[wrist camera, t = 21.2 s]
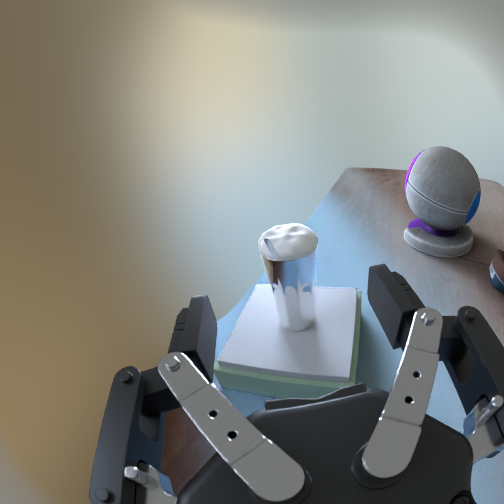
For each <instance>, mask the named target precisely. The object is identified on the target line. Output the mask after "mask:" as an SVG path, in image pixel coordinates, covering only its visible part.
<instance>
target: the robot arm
mask: <svg viewBox="0 0 504 504" xmlns="http://www.w3.org/2000/svg"><path fill="white" fill-rule="evenodd" d="M367 293H368V300H369V303H370V305H371V306H372V308H373V310H374V312H375V314H376V316H377V318H378V320H379V322H380V324H381V326H382V328H383V330H384V332H385V334H386V336H387V338H388V340H389V342H390V344H391V346H392V348H393V349H397V348H400V347H401V348H402V350H403V352H404V353H403V356H402V359H401V362H400V365H399V368H398V371H397V374H396V377H395V380H394V382H393V385H392V388H391V390H390V393H389V392H387V391H384V390H380V389H373V388H367V387H366V384H365V382H362V383H358V384H354V385H350V386H346V387H342V388H339V389H337V390H335V391H333V392H331V393H329V394H326V395H324V396H322V397H319V398H315V399H313V398H291V397H290V398H283V399H276V400H268V401H265V408H263V409H260V410H258V411H256V412H254V413H252V414H251V415H249V416H248V417H247V418H245V417H244V416H243V415H242V414H241V413H240V412H239V411H238V410H237V409H236V408H235V407H234V406H233V405H232V403H231V402H230V401H229V400H228V399H227V398H226V397H225V396H224V395H223V394H222V393H221V392H220V391H219V390H218V389H217V387H216V386H215V385H214V384H213V383H212V381H213V369H214V358H215V347H216V336H217V322H216V318H215V316H214V312H213V309H212V307H211V303H210V301H209V298H208V296H207V295H202V296H195V297H192V298H191V301H190V305H189V308H183V309H182V310H181V312H180V313H179V314H178V316H177V319H176V325H175V327H174V332H173V335H172V339H171V343H170V347H169V351H168V354H167V355H165V356H164V357H163V358H162V359H161V360H160V361H159V363H158V366H157V367H155V368H153V369H149V370H146V371H143V372H140V371H139V370H138V368H136V367H133V366H128V367H125V368H122V369H121V370H120V371H118V372H117V373H116V375H115V377H114V380H113V383H112V386H111V391H110V394H109V398H108V401H107V405H106V409H105V413H104V417H103V421H102V426H101V430H100V435H99V439H98V444H97V448H96V453H95V458H94V464H93V469H92V475H91V482H90V488H89V498H90V501H91V503H92V504H476V502H475V500H474V498H473V496H472V494H471V484H470V483H471V471H472V466H473V464H475V463H477V462H478V461H480V460H482V459H484V458H492V457H494V456H495V455H497V454H498V453H500V452H501V451H503V450H504V347H503V345H502V344H501V342H500V341H499V339H498V338H497V336H496V335H495V333H494V331H493V330H492V328H491V327H490V326H489V324H488V323H487V321H486V320H485V318H484V317H483V315H482V314H481V313H480V311H479V310H477V309H476V308H474V307H471V306H464V307H461V308H460V309H459V310H458V313H457V315H456V316H442V315H441V314H440V313H439V312H438V311H437V310H435V309H433V308H427V307H425V306H424V304H423V303H422V302H421V300H420V299H419V297H418V296H417V295H416V293H415V292H414V291H413V290H412V288H411V287H410V285H409V284H408V282H407V281H406V280H405V279H404V277H403V276H401V275H400V274H398V273H397V272H391V271H390V270H389V269H388V267H387V266H386V265H385V264H380V265H375V266H370V268H369V277H368V290H367ZM470 353H471V354H470ZM438 361H443V362H444V364H445V366H446V368H447V370H448V373H449V375H450V377H451V379H452V381H453V384H454V386H455V388H456V390H457V393H458V395H459V397H460V400H461V402H462V405H463V407H464V410H465V412H466V415H467V416H466V418H465V420H464V424H463V426H464V435H463V434H461V433H460V432H458V431H456V430H454V429H453V428H451V427H449V426H447V425H445V424H443V423H442V422H440V421H438V420H436V419H435V418H433V417H431V416H429V415H427V414H426V410H427V406H428V403H429V399H430V395H431V392H432V388H433V384H434V380H435V375H436V371H437V366H438ZM179 407H183V409H184V410H185V412H186V413H187V414H188V416H189V417H190V418H191V420H192V421H193V422H194V424H195V425H196V426H197V427H198V429H199V430H200V431H201V433H202V434H203V435H204V436H205V438H206V439H207V440H208V441H209V442H210V444H211V445H212V446H213V447H214V448H215V450H216V451H217V452H216V453H215V454H214V455H213V456H212V457H211V458H210V459H209V461H208V462H207V463H206V464H205V465H204V466H203V467H202V468H201V469H200V470H199V472H198V473H197V474H196V475H195V476H194V477H193V478H192V479H191V480H190V481H189V482H188V483H187V484H186V485H185V486H184V487H183V488H182V490H181V491H180V492H179V494H178V496H176V495H175V494H174V493H173V491H172V487H171V482H170V479H169V478H168V477H167V476H166V475H165V474H164V473H162V472H161V459H162V447H163V436H164V426H165V416H166V411H169V410H173V409H176V408H179Z"/></svg>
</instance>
